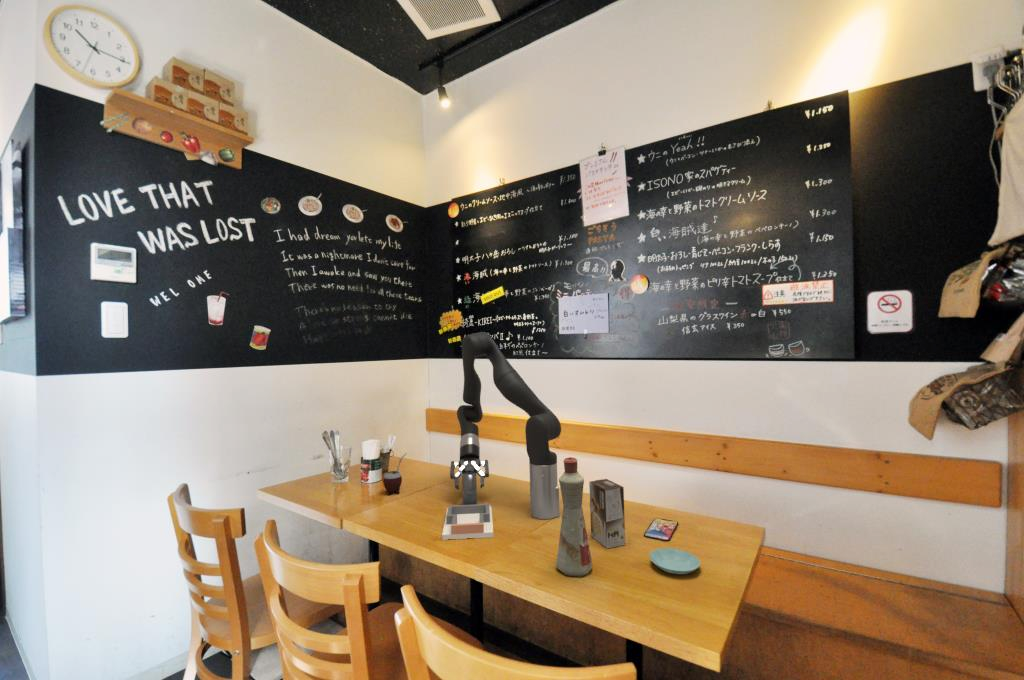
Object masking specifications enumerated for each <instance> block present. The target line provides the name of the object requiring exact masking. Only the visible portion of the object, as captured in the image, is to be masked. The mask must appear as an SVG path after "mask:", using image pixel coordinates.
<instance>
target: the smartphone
mask: <svg viewBox="0 0 1024 680" xmlns="http://www.w3.org/2000/svg"><path fill="white" fill-rule="evenodd" d="M678 526H679V522H678V521H677V520H672V519H666V518H659V517H654V519H653V520H652V522H651V523H650V524H649V526H648V528H647V529H646V530H645V531H644V533H643V537H644V538H646V539H650V540H651V539H652V540H657V541H660V542H661V541H662V542H667V543H669V542H671V539H672V538H673V536H674V534H675V532H676V530H677V529H678Z"/></svg>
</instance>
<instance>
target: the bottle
mask: <svg viewBox="0 0 1024 680" xmlns="http://www.w3.org/2000/svg"><path fill="white" fill-rule="evenodd" d="M563 466H564V467H563V468H564V472H563V473H562V474H561V476H560V477H559V478H558V481H559V486H560V487H559V490H560V494H561V499H562V505H563V506H562V513H561V524H560V531H559V532H560V533H559V540H558V549H557V556H556V561H555V566H556V568H557V569H558V570H559V571H560V572H562V573H563V574H565V576H572V577H584V576H586V575H588V573H590V571H591V569H592V567H593V560H592V554H591V549H590V544H589V543H590V542H589V538H588V532H587V526H586V519H585V515H584V511H583V510H584V509H583V506H582V505H583V498H584V496H583V494H584V484H585V479H584V477H583V476H582V475H581V474H580V473H579V471H578V459H577V458H576V457H572V456H569V457H565V458H564V459H563Z"/></svg>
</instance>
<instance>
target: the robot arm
mask: <svg viewBox="0 0 1024 680" xmlns="http://www.w3.org/2000/svg"><path fill="white" fill-rule="evenodd" d="M461 355H462V357H461V359H462V368H463V389H462V391H463V392H462V401H463V403H465V404H463V405H462V404H461V405H460V406H459V407H457V410H456V416H457V421H458V422H459V426H460V427H459V428H460V441H459V461H458V462H455V461H454V460H451V462H450V468H449V469H450V472H449V477H450V479H451V480H454V488H455V489H456V490H459V487H460V485H459V484H460V478H461V477H462V473H464V472H476V476H479V480H480V489H483V487H485V479H486V478H489V477H490V471H489V469H490V468H489V461H488V459H485V460H482V461H481V459H480V458H481V457H480V453H481V452H480V448H481V447H480V439H479V438H480V437H479V432H480V430H479V426H478V425H477V424H476V423H480V422H481V421H482V419H483V416H484V412H483V408H482V405H481V396H482V395H481V393H482V382H481V378H480V377H479V374H478V373H477V371H476V369H475V360H476V358H480V357H484V356H485V357H486V358H487V360H488V361H489V362H490V363H491V366H492V377H493V383H494V386H495V387H496V389H497V390H498V391H499V393H500V394H501V395H502V396H503V397H504V398H505V399H506V400H507V401H508V402H510V403H512V404H513V405H514V406H516V407H518V408H519V409H520V410H523V411H524V412H525V414H527V415H528V416H529V418H528V419H527V420H526V422H525V430H524V431H525V445H526V453H527V457H528V460H529V464H528V466H529V497H530V498H529V499H530V500H529V503H530V504H529V505H530V506H529V507H530V509H529V510H530V516H531V517H533V518H535V519H538V520H549V519H554V518H557V517H559V518H560V487H559V484H558V455H557V454H556V453H555V452H554V451H551V449H550V445H549V443H550V441H553V440H555V439H557V438H558V437H559V436H560V435H561V432H562V425H561V422H560V420H559V418H558V417H557V416H556V415H555V413H553V412H552V410H551V409H550V408H549V407H547V406H546V405H545V404H544V403H543V402H542V400H541V399H539V398H538V396H537V395H536V393H535V392H534V390H532V389H531V388H530V387H529V385H528V384H527V383H526V381H525V380H524V379H523V378H522V377H521V375H520V374H519V373H518V372H517V370H516V369H515V368H514V367H513V366H512V365H511V363H510V362H509V361H508V359H507V358H506V357H505V356H504V354H503V352H502V351H501V349H500V347H499V346H498V344H497V343H496V342H495V340H494V338H492V336H491V335H490V334H489V333H488V332H485V331H480V332H475V333H471V334H467V335H465V336H463V339H462V341H461ZM466 404H467V405H466ZM457 467H458V470H457V472H456V473H455V470H456V469H457ZM480 467H482V468H484V471H485V472H484V471H482V469H481V468H480Z"/></svg>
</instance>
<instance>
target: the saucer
mask: <svg viewBox="0 0 1024 680" xmlns="http://www.w3.org/2000/svg"><path fill="white" fill-rule="evenodd" d="M649 560H651V562H652V563H653V564H654V565H655V566H656V567H657V568H659V569H660V570H661V571H664V572H665V573H669V574H673V575H686V574H691V573H692V572H694V571H696V570H697V569H699V568H700V565H701V561H700V559H698V557H697V556H696V555H694V554H692V553H690V552H687V551H685V550H683V549H682V550H681V549H676V548H666V547H665V548H658V549H655V550H652V551H651V552H650V554H649Z"/></svg>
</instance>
